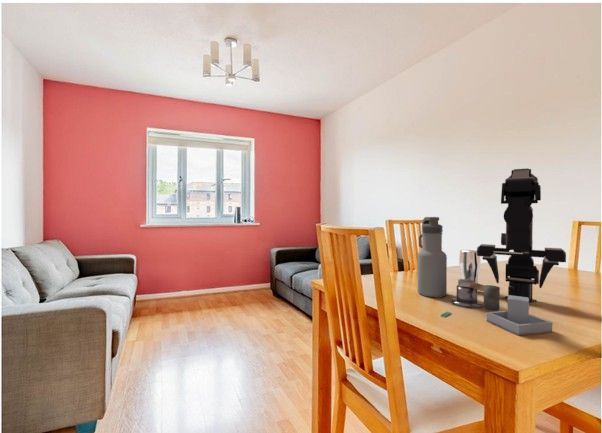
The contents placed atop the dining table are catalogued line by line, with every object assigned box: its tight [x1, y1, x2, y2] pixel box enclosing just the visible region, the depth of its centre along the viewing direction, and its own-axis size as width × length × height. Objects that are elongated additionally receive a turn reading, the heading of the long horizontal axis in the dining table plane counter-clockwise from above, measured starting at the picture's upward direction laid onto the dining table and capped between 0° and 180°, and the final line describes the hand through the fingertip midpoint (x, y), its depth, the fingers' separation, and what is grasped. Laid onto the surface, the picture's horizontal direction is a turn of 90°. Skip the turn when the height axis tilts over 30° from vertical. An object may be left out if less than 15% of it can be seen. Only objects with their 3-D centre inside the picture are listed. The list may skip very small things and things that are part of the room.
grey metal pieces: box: [440, 284, 484, 318], centre depth 100 cm, size 20×14×6 cm
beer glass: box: [458, 249, 481, 294], centre depth 118 cm, size 7×7×15 cm
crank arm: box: [457, 278, 501, 312], centre depth 98 cm, size 14×5×6 cm, turn 13°
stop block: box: [507, 294, 530, 324], centre depth 83 cm, size 4×4×7 cm
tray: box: [486, 309, 553, 337], centre depth 83 cm, size 10×10×2 cm
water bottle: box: [416, 216, 448, 298], centre depth 115 cm, size 10×10×28 cm
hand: (518, 285), depth 83 cm, fingers open, 9 cm apart
